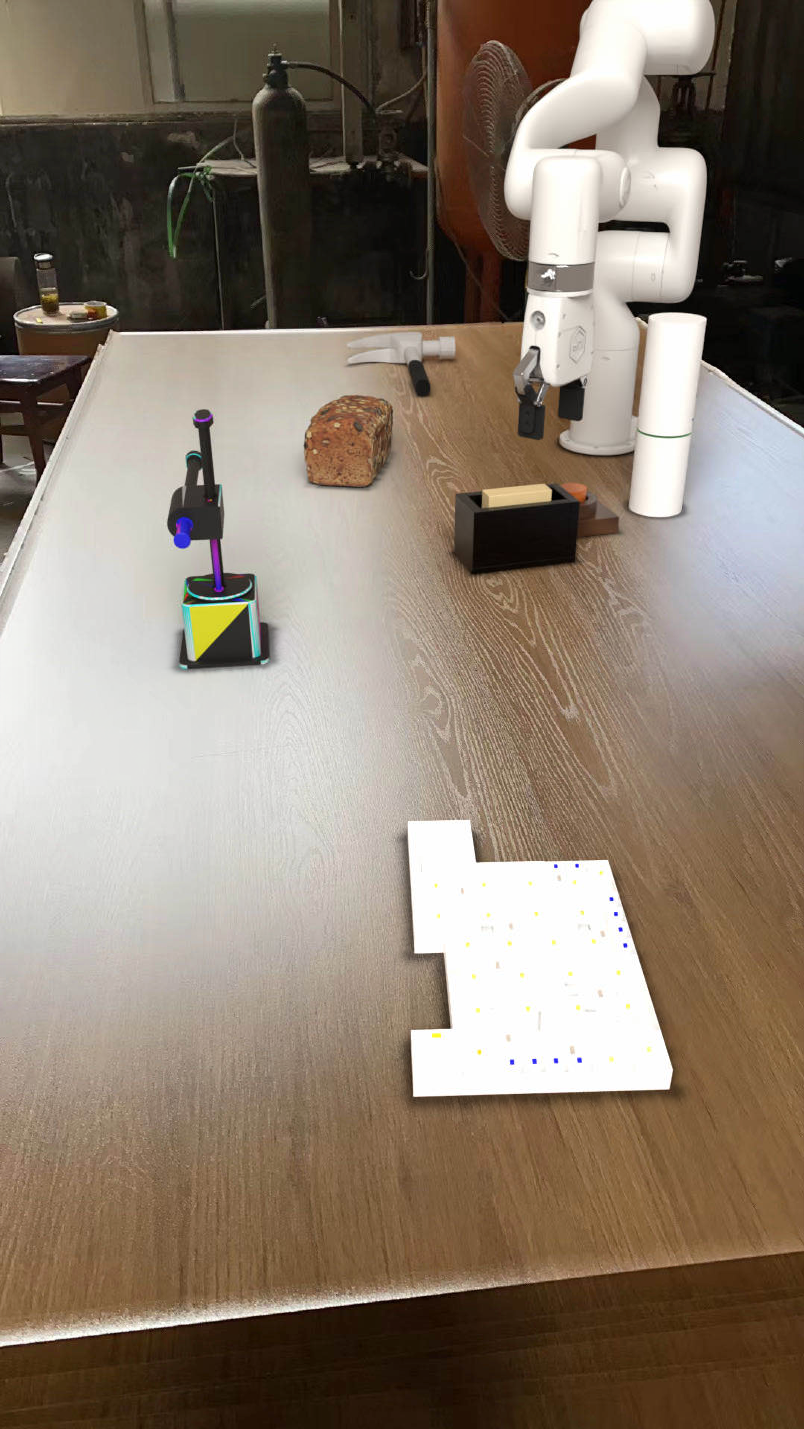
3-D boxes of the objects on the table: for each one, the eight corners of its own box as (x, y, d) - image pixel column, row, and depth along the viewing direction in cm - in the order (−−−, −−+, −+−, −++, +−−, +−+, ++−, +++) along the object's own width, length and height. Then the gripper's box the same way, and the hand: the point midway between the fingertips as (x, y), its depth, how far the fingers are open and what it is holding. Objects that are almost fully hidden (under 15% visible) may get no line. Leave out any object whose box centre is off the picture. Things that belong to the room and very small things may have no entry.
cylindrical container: (684, 502, 152) (709, 314, 139) (678, 519, 146) (703, 325, 133) (632, 496, 154) (652, 311, 141) (624, 513, 148) (644, 321, 135)
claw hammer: (473, 371, 200) (452, 330, 225) (353, 374, 198) (346, 333, 223) (472, 400, 203) (452, 357, 228) (354, 404, 201) (346, 360, 226)
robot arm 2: (269, 678, 108) (251, 435, 96) (177, 683, 108) (146, 439, 95) (267, 578, 130) (251, 369, 117) (190, 582, 129) (166, 372, 116)
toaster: (553, 542, 139) (557, 483, 135) (575, 562, 134) (580, 501, 130) (453, 553, 136) (455, 493, 132) (472, 574, 130) (474, 512, 126)
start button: (578, 494, 144) (580, 481, 143) (590, 503, 141) (591, 490, 140) (553, 497, 143) (554, 484, 142) (564, 506, 140) (565, 493, 139)
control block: (591, 512, 149) (594, 483, 146) (617, 532, 142) (620, 503, 140) (523, 519, 146) (525, 491, 144) (546, 541, 140) (548, 511, 138)
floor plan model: (413, 1096, 64) (413, 1074, 63) (400, 838, 86) (400, 819, 85) (669, 1089, 65) (673, 1067, 64) (592, 834, 86) (594, 815, 85)
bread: (373, 490, 157) (372, 421, 152) (301, 486, 158) (297, 417, 153) (396, 451, 172) (395, 387, 167) (330, 448, 174) (327, 385, 169)
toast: (540, 545, 136) (544, 483, 132) (548, 552, 134) (552, 489, 130) (480, 551, 134) (482, 489, 130) (486, 559, 132) (489, 496, 128)
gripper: (552, 292, 115) (542, 451, 124) (624, 271, 127) (610, 417, 136) (492, 285, 119) (486, 440, 128) (567, 265, 131) (557, 408, 140)
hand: (550, 428), depth 132 cm, fingers open, 9 cm apart
